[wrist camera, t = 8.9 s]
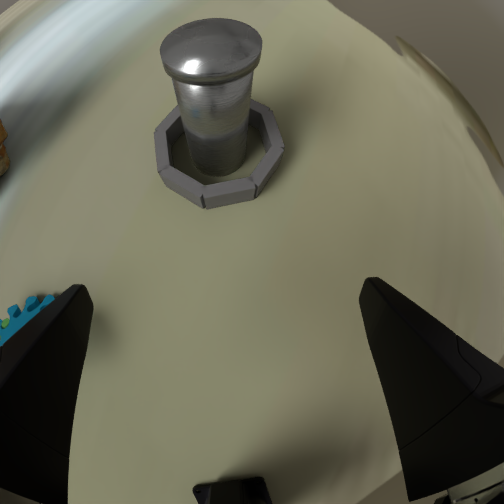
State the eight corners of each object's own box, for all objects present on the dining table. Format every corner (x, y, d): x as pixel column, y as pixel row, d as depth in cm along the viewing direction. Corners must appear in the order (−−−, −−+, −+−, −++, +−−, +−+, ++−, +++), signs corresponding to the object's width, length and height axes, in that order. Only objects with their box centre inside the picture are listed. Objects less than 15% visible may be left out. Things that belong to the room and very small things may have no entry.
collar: (289, 193, 24) (295, 181, 21) (169, 217, 23) (162, 207, 20) (260, 102, 25) (262, 85, 23) (157, 121, 24) (151, 105, 22)
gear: (90, 297, 19) (29, 402, 11) (114, 345, 23) (72, 438, 14) (13, 281, 20) (-40, 353, 12) (37, 323, 24) (-5, 392, 15)
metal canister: (261, 157, 24) (283, 48, 12) (210, 191, 23) (193, 88, 11) (225, 119, 25) (223, 10, 12) (176, 149, 24) (143, 43, 11)
